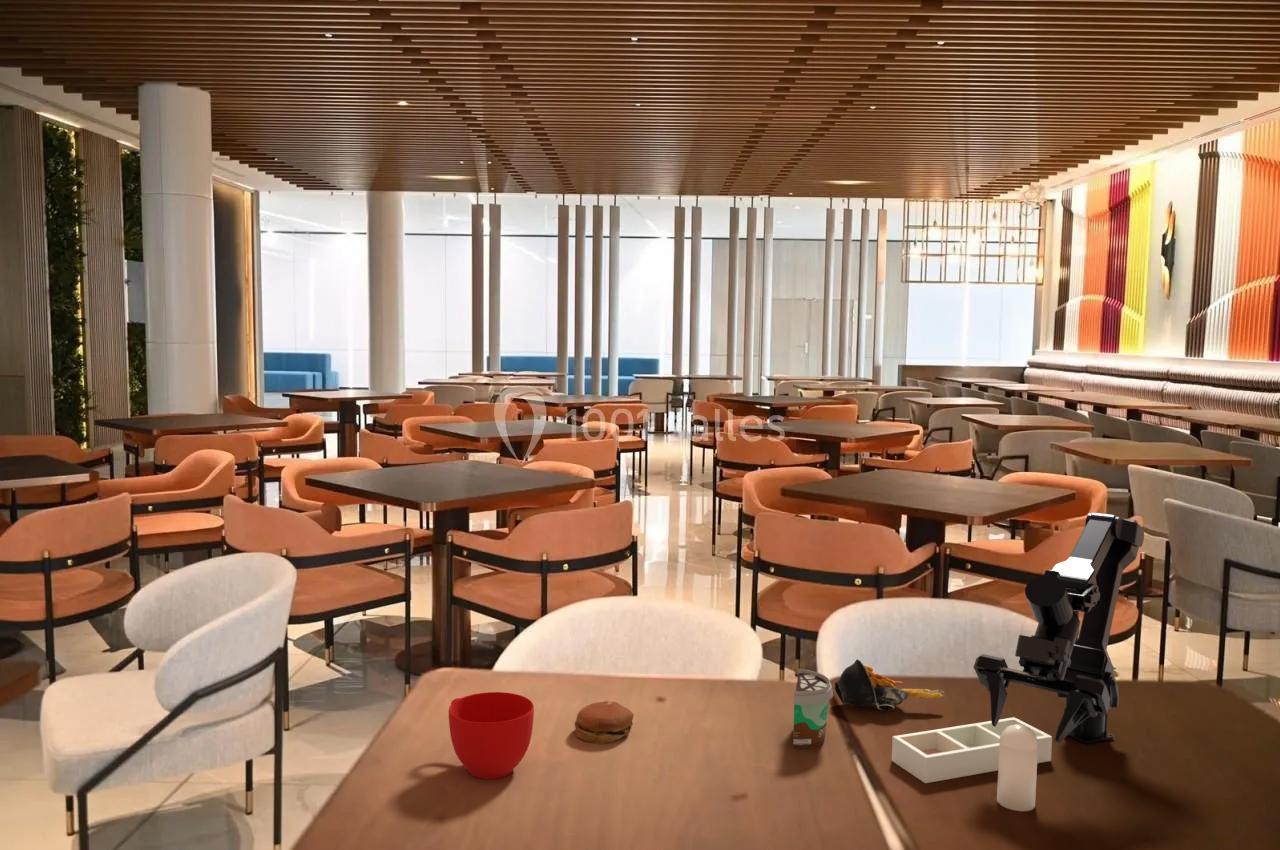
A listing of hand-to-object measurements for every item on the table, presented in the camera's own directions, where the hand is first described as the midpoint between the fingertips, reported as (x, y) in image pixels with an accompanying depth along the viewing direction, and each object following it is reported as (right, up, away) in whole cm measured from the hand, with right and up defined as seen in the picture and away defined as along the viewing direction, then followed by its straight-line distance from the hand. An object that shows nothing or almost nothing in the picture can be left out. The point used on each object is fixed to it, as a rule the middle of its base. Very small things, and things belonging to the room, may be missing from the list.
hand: (1024, 733), depth 147 cm
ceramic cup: (-81, -8, +9) cm, 82 cm away
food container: (-27, -8, +21) cm, 35 cm away
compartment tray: (-3, -9, +13) cm, 16 cm away
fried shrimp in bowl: (-12, -7, +36) cm, 38 cm away
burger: (-62, -7, +23) cm, 67 cm away
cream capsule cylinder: (-2, -10, -1) cm, 10 cm away
